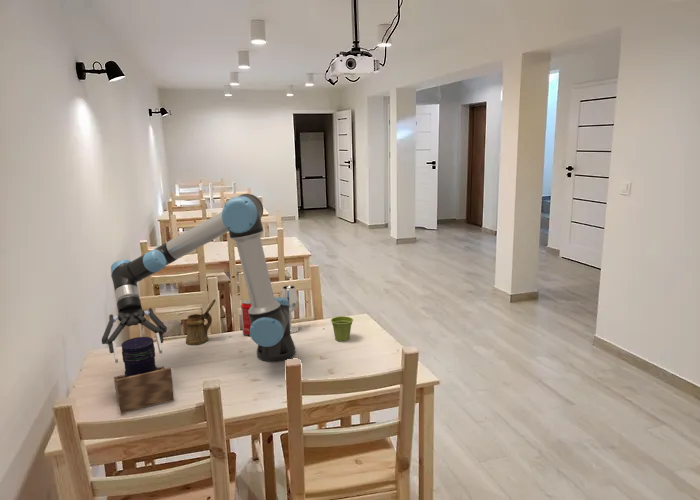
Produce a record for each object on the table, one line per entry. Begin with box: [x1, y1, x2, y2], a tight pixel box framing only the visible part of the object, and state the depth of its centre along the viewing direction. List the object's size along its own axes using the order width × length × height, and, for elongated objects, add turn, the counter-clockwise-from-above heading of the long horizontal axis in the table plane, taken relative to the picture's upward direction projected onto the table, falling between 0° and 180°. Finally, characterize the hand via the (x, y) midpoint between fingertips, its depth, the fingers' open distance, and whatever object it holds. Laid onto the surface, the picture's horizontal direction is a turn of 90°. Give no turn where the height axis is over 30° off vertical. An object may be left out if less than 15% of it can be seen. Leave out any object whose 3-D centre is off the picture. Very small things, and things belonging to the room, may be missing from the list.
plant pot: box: [330, 315, 354, 342], centre depth 210 cm, size 9×9×9 cm
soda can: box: [240, 298, 251, 337], centre depth 218 cm, size 8×8×15 cm
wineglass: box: [280, 285, 299, 334], centre depth 220 cm, size 8×8×20 cm
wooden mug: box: [185, 299, 216, 346], centre depth 210 cm, size 9×14×18 cm, turn 102°
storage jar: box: [120, 336, 158, 377], centre depth 163 cm, size 10×10×15 cm
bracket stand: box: [113, 366, 175, 414], centre depth 164 cm, size 16×16×11 cm
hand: (139, 356), depth 163 cm, fingers open, 13 cm apart
